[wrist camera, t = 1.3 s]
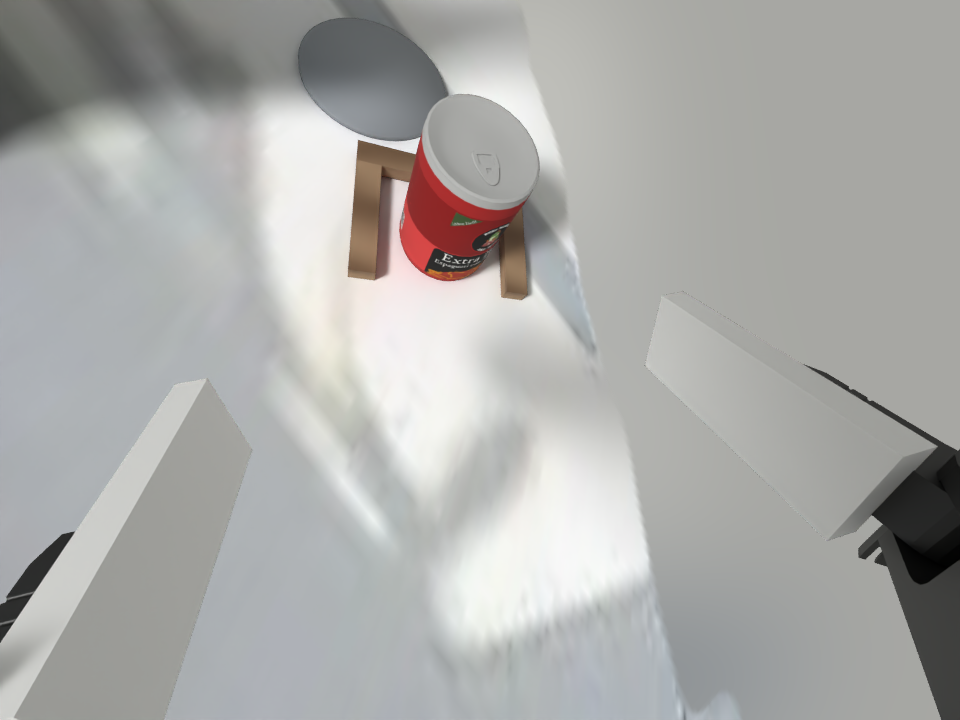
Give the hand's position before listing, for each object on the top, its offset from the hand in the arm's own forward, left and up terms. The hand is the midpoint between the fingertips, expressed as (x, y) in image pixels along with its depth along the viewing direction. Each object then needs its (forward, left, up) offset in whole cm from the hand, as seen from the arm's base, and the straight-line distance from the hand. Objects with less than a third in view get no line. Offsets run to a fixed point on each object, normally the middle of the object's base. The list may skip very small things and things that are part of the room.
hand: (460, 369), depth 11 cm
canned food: (-7, +15, -18) cm, 24 cm away
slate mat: (-22, +23, -18) cm, 36 cm away
